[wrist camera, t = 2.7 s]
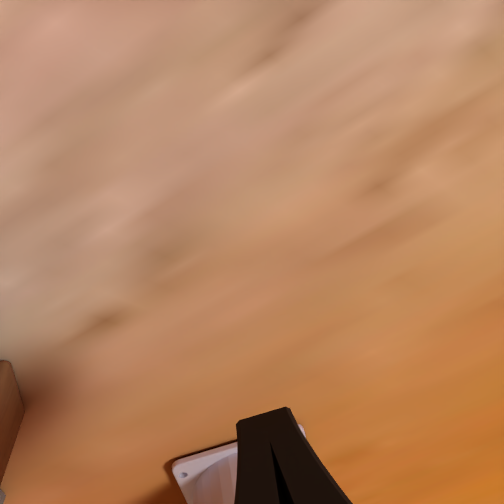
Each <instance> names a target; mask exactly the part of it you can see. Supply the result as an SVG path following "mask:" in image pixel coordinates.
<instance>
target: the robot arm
mask: <svg viewBox="0 0 504 504" xmlns="http://www.w3.org/2000/svg"><path fill="white" fill-rule="evenodd" d="M236 429H237V442H235V443H231V444H228V445H225V446H221V447H218V448H215V449H211V450H208V451H205V452H201V453H198V454H195V455H192V456H188V457H185V458H182V459H178V460H176V461H175V462H174V463H173V464H172V473H173V475H174V477H175V479H176V481H177V483H178V485H179V487H180V489H181V491H182V493H183V495H184V497H185V499H186V501H187V503H188V504H353V503H352V502H351V501H350V500H349V499H348V497H347V496H346V495H345V493H344V492H343V491H342V490H341V488H340V487H339V486H338V484H337V483H336V481H335V480H334V479H333V477H332V476H331V475H330V473H329V472H328V471H327V469H326V468H325V466H324V465H323V464H322V462H321V461H320V459H319V458H318V456H317V455H316V454H315V452H314V450H313V449H312V447H311V446H310V444H309V443H308V441H307V439H306V436H305V432H304V429H303V427H302V426H301V425H299V424H297V422H296V420H295V418H294V416H293V414H292V412H291V409H290V408H287V407H283V408H279V409H276V410H273V411H269V412H266V413H262V414H259V415H256V416H252V417H249V418H246V419H242V420H239V421H238V423H237V424H236Z"/></svg>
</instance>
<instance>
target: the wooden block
mask: <svg viewBox="0 0 504 504" xmlns="http://www.w3.org/2000/svg"><path fill="white" fill-rule="evenodd" d="M24 413H25V411H24V407H23V403H22V400H21V397H20V393H19V390H18V386H17V383H16V379H15V376H14V372H13V369H12V366H11V363H10V362H9V361H4V360H2V361H0V485H1V482H2V479H3V476H4V473H5V470H6V467H7V464H8V461H9V458H10V455H11V452H12V449H13V446H14V443H15V440H16V437H17V434H18V431H19V428H20V425H21V422H22V419H23V416H24Z"/></svg>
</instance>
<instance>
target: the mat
mask: <svg viewBox="0 0 504 504" xmlns="http://www.w3.org/2000/svg"><path fill="white" fill-rule="evenodd" d="M5 496H6V495H5V494H4V493H3V492H2V490H1V489H0V504H3V503H4V500H5Z"/></svg>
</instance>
